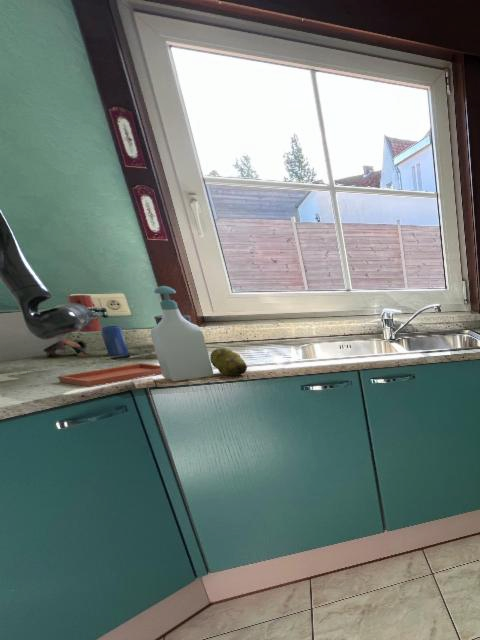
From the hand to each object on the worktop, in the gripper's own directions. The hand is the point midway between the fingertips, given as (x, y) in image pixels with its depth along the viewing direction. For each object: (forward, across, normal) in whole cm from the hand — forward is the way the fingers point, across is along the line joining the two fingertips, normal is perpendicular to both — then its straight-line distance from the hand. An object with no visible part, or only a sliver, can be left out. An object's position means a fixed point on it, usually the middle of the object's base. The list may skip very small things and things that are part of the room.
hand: (85, 311), depth 160 cm
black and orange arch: (+16, +11, +18) cm, 26 cm away
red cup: (-3, 0, +6) cm, 7 cm away
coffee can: (+12, -20, +18) cm, 29 cm away
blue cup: (+12, -2, +18) cm, 22 cm away
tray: (-23, -7, +18) cm, 30 cm away
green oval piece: (-32, -36, +18) cm, 52 cm away
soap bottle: (-31, -25, +18) cm, 43 cm away
